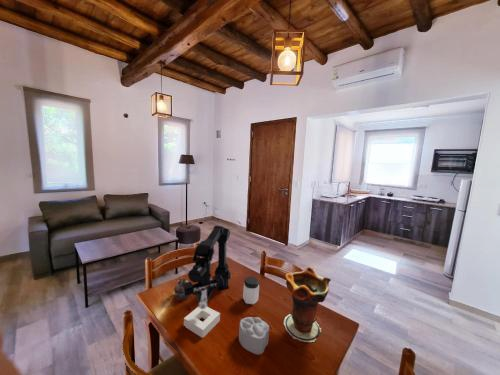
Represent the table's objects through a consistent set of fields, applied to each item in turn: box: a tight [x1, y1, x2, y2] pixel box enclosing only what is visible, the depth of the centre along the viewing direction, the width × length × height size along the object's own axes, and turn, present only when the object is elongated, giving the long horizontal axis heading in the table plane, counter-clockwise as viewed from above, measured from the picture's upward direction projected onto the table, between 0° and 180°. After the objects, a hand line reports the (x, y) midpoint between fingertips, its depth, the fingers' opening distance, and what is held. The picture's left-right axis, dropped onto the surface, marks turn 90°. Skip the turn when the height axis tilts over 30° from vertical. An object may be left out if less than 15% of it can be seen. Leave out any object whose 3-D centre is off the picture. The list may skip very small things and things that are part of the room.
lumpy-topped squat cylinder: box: [238, 316, 270, 355], centre depth 90 cm, size 10×13×9 cm
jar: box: [242, 275, 260, 305], centre depth 117 cm, size 9×8×12 cm
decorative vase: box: [283, 266, 332, 343], centre depth 99 cm, size 21×23×28 cm
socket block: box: [183, 306, 221, 339], centre depth 98 cm, size 12×12×4 cm
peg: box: [198, 286, 208, 309], centre depth 96 cm, size 4×4×9 cm
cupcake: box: [173, 278, 191, 302], centre depth 116 cm, size 10×10×10 cm
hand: (203, 301), depth 97 cm, fingers closed on peg, 4 cm apart
